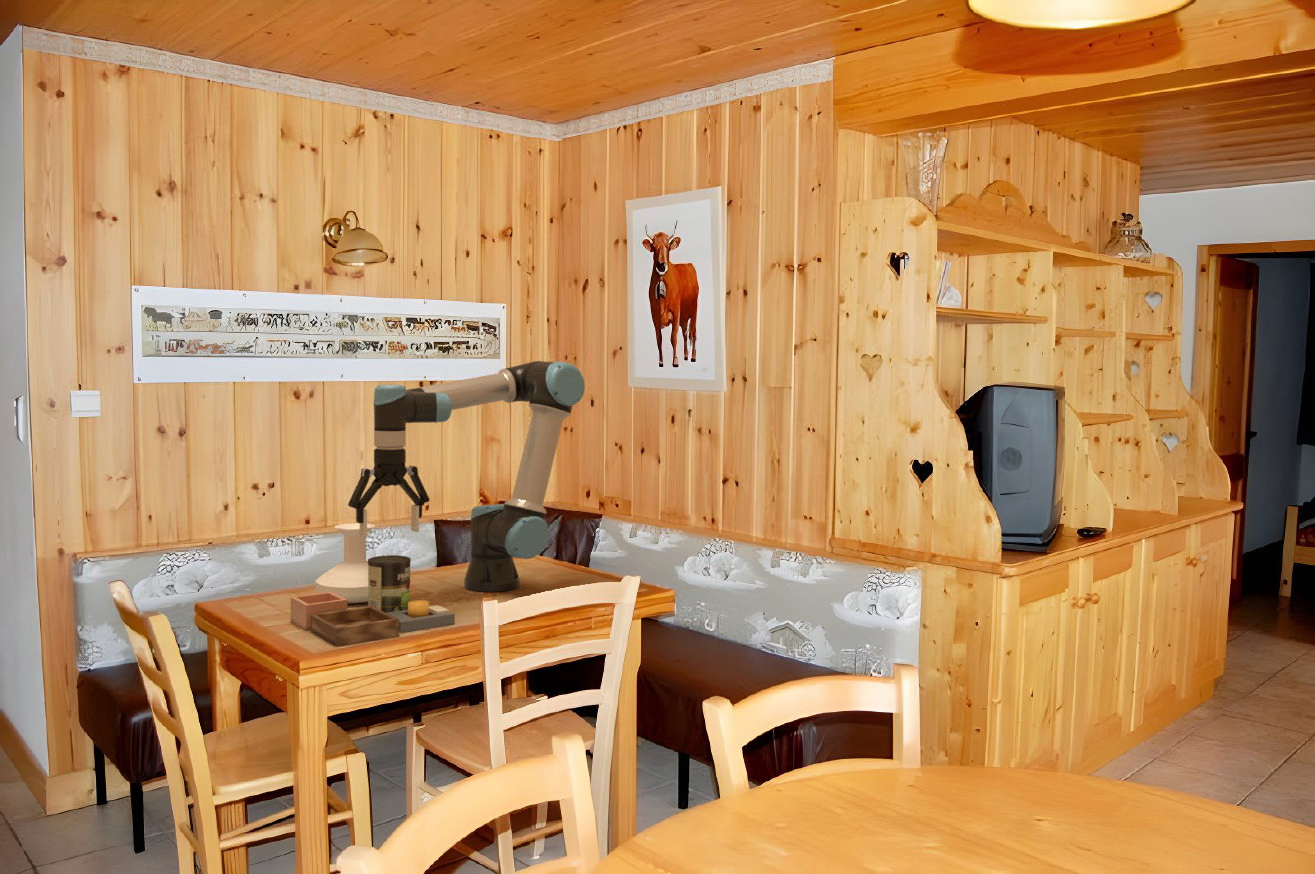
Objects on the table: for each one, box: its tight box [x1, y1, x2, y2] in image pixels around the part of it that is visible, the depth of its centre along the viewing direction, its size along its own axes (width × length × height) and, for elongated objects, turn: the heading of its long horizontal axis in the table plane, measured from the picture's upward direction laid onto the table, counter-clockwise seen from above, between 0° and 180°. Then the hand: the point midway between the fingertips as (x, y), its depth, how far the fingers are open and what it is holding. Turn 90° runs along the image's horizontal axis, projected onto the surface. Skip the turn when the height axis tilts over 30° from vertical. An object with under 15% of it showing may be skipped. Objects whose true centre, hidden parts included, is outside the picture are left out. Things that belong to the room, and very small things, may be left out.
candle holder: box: [314, 522, 376, 604], centre depth 276 cm, size 20×20×19 cm
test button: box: [408, 599, 430, 618], centre depth 252 cm, size 5×5×4 cm
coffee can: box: [367, 554, 412, 613], centre depth 259 cm, size 10×10×14 cm
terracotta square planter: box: [290, 592, 348, 632], centre depth 251 cm, size 10×10×6 cm
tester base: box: [387, 604, 456, 634], centre depth 252 cm, size 14×10×3 cm
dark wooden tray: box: [310, 606, 400, 647], centre depth 242 cm, size 15×15×4 cm
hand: (389, 533), depth 258 cm, fingers open, 13 cm apart
